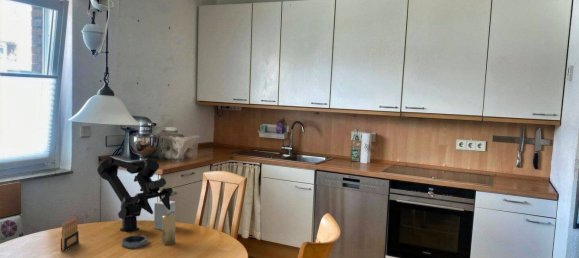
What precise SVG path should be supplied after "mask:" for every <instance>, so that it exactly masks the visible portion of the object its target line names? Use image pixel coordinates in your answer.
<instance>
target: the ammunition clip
mask: <svg viewBox="0 0 579 258" xmlns="http://www.w3.org/2000/svg"><path fill="white" fill-rule="evenodd" d="M61 224H62V225H61V238H60V251H61V250H66V249H67V250H69V249H71V248H72V247H74V246H75V245H77V244H78V243H79V241H80V240H79V239H80V238H79V236H80V235H79V230H78V229H79V227H78V219H77V216H76V215H75V216H74V217H73V216H72V217H70V218H69V219H67V220H65V221H63V222H62V223H61ZM73 245H74V246H73ZM71 246H72V247H71ZM70 247H71V248H70ZM68 248H69V249H68ZM67 250H66V251H67Z"/></svg>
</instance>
